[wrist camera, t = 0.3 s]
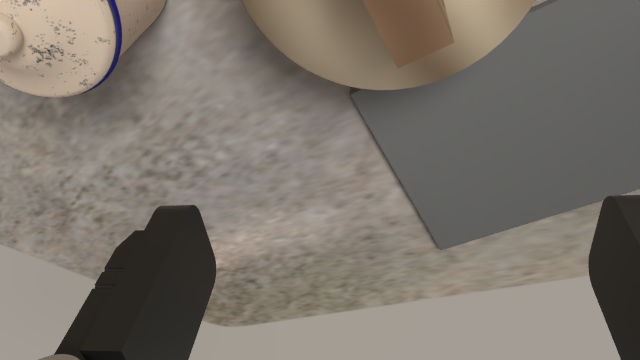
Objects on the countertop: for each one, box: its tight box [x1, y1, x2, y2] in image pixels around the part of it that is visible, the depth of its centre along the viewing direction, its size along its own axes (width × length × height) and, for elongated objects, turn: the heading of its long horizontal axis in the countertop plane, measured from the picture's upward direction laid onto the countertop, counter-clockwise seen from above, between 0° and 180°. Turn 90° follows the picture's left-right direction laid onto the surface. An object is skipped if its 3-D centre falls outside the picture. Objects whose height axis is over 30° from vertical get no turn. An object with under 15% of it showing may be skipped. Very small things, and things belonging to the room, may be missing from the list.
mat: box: [350, 0, 640, 250], centre depth 36 cm, size 18×16×1 cm
